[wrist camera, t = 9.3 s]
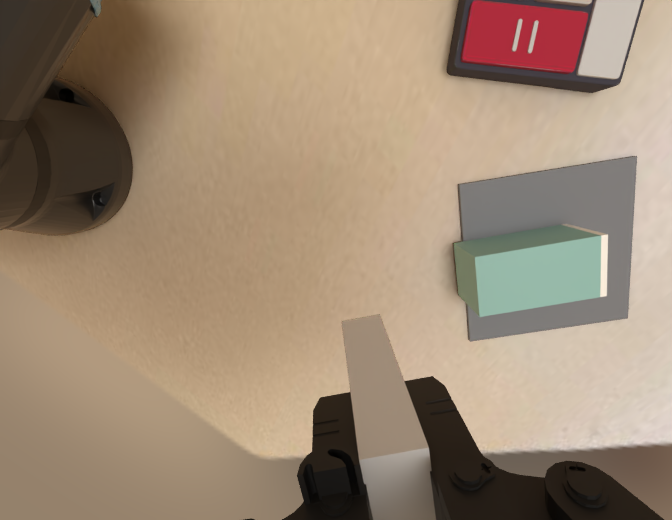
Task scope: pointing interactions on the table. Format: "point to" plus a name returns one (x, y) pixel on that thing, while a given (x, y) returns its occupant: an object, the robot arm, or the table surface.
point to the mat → (550, 210)
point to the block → (531, 269)
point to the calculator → (544, 41)
